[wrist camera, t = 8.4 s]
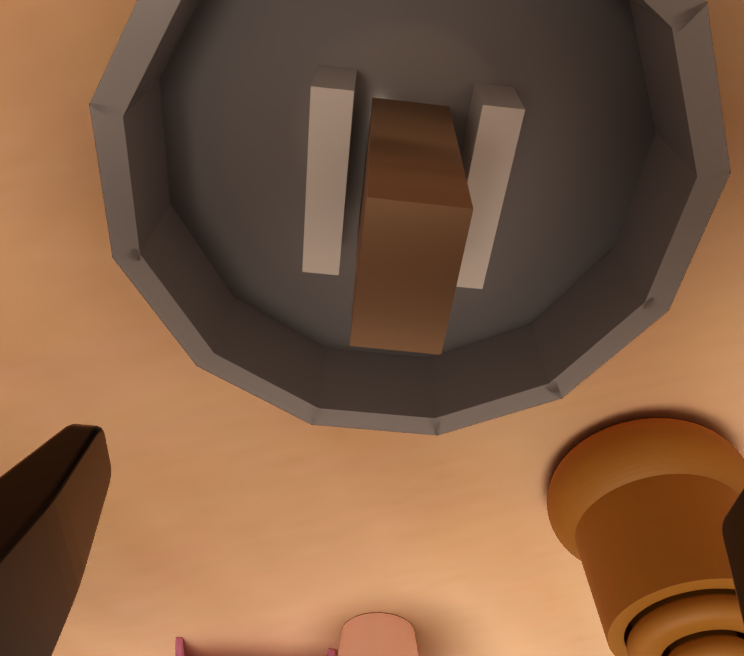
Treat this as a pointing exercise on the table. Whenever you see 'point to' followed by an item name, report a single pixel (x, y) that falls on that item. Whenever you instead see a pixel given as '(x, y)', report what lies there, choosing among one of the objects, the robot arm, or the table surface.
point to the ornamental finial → (654, 534)
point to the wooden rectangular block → (409, 228)
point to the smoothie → (378, 636)
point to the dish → (345, 181)
